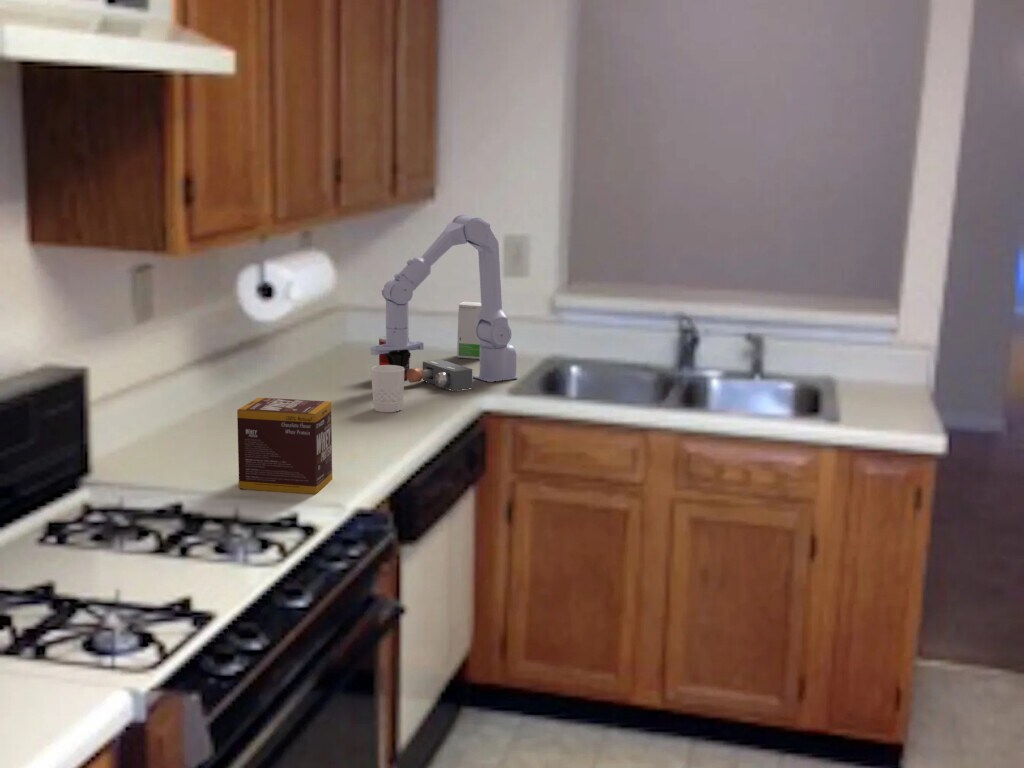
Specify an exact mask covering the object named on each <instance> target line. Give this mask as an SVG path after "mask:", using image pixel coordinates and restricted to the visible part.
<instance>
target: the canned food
mask: <svg viewBox="0 0 1024 768" xmlns="http://www.w3.org/2000/svg"><path fill="white" fill-rule="evenodd" d="M382 344H386V335H382V336H380V337H379V339H378V345H382ZM408 352H409V353H410V351H408ZM378 360H379V361H378V366H380V365H389V363H388V361H387V359H386V357H385V356H384V354H378ZM408 369H410V359H409V360H408V362H407V364H406V366H405V372H404V380H405V381H408V380H407V370H408Z"/></svg>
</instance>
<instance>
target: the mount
mask: <svg viewBox="0 0 1024 768" xmlns="http://www.w3.org/2000/svg"><path fill="white" fill-rule="evenodd" d="M426 369H433V377H430V378H422V381H423V380H424V381H427V382H429V383H428V384H430V383H433V384H436V383H435V375H436V373H440V372H448V373H449V374H450V378H451V381H450V384H449V385H448V386H442V387H444V388H443V389H445V388H447V389H446V390H448V389H451V390H453V391H452V392H454V391H455V392H458V391H457V390H462V389H469V388H472V389H473V369H472V368H471V367H467V366H463V365H460V364H456V363H453V362H450V361H446V360H443V359H434V360H433V359H432V360H425V361H422V370H426ZM424 381H423V382H424ZM427 382H426V383H427ZM433 384H432V385H433ZM442 387H441V388H442ZM451 390H450V391H451ZM462 391H463V390H462Z"/></svg>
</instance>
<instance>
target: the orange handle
mask: <svg viewBox="0 0 1024 768" xmlns="http://www.w3.org/2000/svg"><path fill="white" fill-rule="evenodd" d="M430 377H433V369H426V370H423V369H420V368H419V367H413V368H409V369H408V370H407V380H406V381H408V382H409V383H411V384H412V383H419V382H422V381H423V378H430Z"/></svg>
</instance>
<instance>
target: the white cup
mask: <svg viewBox="0 0 1024 768" xmlns="http://www.w3.org/2000/svg"><path fill="white" fill-rule="evenodd" d="M404 372H405V368H404V367H402V366H397V365H380V366H379V365H375V366H372V367H370V373H371V391H372V399H373V410H374V411H376V412H379V413H388V412H389V413H396V411H398V412H400V411H399V410H401V411H402V410H403V406H404V405H403V403H404V401H403V400H404V391H405V381H404Z"/></svg>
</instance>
